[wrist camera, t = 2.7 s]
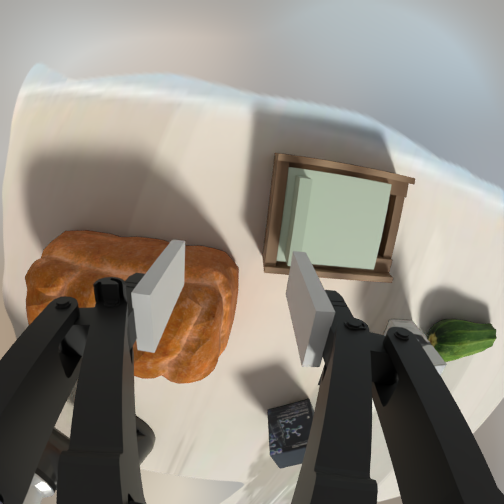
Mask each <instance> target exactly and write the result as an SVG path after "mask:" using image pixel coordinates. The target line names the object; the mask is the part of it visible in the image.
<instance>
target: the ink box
mask: <svg viewBox="0 0 504 504" xmlns="http://www.w3.org/2000/svg"><path fill="white" fill-rule="evenodd" d="M391 327H403V328H406V329H408V330H409V331H411V332H412V333H413V334H414V335H415V336H416V338H417V339H418V341H419V342H420V344H421V345H422V347H423V349H424V350H425V352H426V353H427V355H428V357H429V358H430V360H431V361H432V363H433V365H434V366H435V368H436V370H437V371H438V373H439V374H440V375H441V373H442V372H443V370H444V368H445V366H446V363H445V361H444V360H443V359H442V357H441V356H440V355H439V353H438V352H437V351H436V350H435V348H434V347H433V346H432V344H431V343H430V342H429V341H428V339H427V338H426V337H425V336H424V334H423V333H422V332H421V331H420V329H419V328H418V327H417V326H416V324H415V323H414V322H413V321H410V320H393V319H391V320H389V323H388V325H387V328H386V330H385V333H384V336H386V333H387V331H388V329H389V328H391Z"/></svg>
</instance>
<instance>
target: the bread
mask: <svg viewBox="0 0 504 504" xmlns="http://www.w3.org/2000/svg"><path fill="white" fill-rule="evenodd" d="M169 243H170V242H167V241H164V240H159V239H153V238H144V237H119V236H116V235H113V234H108V233H101V232H94V231H87V230H85V231H65V232H63V233H62V234H61V235H59V236H58V237H57V238H56V239H54V240H53V241H52V242H50V243H49V245H48V246H47V247H46V248H45V249H44V250H43V253H42V256H41V259H38V260H36V261H35V262H34V263H33V264H32V265H31V267H30V269H29V270H28V272H27V274H26V276H25V280H26V285H27V297H26V311H27V318H28V323H29V325H30V324H31V323H32V322H33V321H34V319H35V318H36V317H37V316H38V315H39V314H40V313H41V312H42V311H43V310H44V308H45V307H46V306H47V305H48V304H49V303H50V302H51V301H53V300H54V299H56V298H58V297H62V296H66V297H73V298H75V299H76V300H77V302H78V306H79V308H89V307H95V304H96V301H95V295H94V287H93V284H94V283H95V281H97V280H99V279H101V278H105V277H118V278H121V279H123V280H124V281H126V279H127V278H128V277H129V276H131V275H133V274H135V273H144V274H146V272H147V271H148V270H149V269H150V267H151V266H152V265H153V263H154V262H155V261H156V260H157V258H158V257H159V256H160V254H161V253H162V252H163V251H164V249H165V248H166V247H167V246H168V244H169ZM238 273H239V268H238V266H237V265H236V264H235V263H234V261H233V260H232V259H231V258H230V257H229V256H228V254H227V253H226V252H223V251H221V250H218V249H214V248H209V247H205V246H185V270H184V286H183V288H182V291H181V293H180V295H179V297H178V299H177V302H176V304H175V306H174V309H173V311H172V313H171V315H170V318H169V320H168V322H167V325H166V327H165V329H164V332H163V334H162V336H161V339H160V341H159V344H158V346H157V348H156V351H155V353H152V352H146V351H141V350H138V349H137V342H136V341H135V343H134V345H133V352H134V376H137V377H140V378H156V377H158V376H161V375H162V376H164V377H165V378H166V379H168V380H169V381H171V382H175V383H179V384H180V383H191V382H195V381H199V380H202V379H203V378H205V377H206V376H208V375H209V374H210V373H211V372H212V371H213V370H214V369H215V366H216V364H217V362H218V357H219V356H220V355H221V353H222V352H223V351H224V350H225V348H226V346H227V343H228V339H229V335H230V332H231V328H232V324H233V320H234V315H235V310H236V304H237V296H238Z"/></svg>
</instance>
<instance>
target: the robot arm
mask: <svg viewBox="0 0 504 504" xmlns="http://www.w3.org/2000/svg"><path fill="white" fill-rule="evenodd" d="M184 270H185V241H183V240H172V241H171V242H170V243H169V244H168V246H167V247H166V248H165V249H164V251H163V252H162V253H161V254H160V256H159V257H158V258H157V260H156V261H155V262H154V263H153V265H152V266H151V267H150V269H149V270H148V271H147V272H146V274H144V273H135V274H133V275H131V276H129V277H128V278H127V279H126V281H124V280H123V279H121V278H118V277H105V278H101V279H99V280H97V281H95V283H94V284H93V287H94V295H95V301H96V304H95V307H89V308H79V306H78V302H77V300H76V299H75V298H73V297H66V296H62V297H58V298H56V299H54V300H53V301H51V302H50V303H49V304H48V305H47V306H46V307H45V308H44V310H43V311H42V312H41V313H40V314H39V315H38V316H37V317H36V318H35V319H34V321H33V322H32V323H31V324H30V325H29V326H28V327H27V329H26V330H25V331H24V332H23V333H22V334H21V336H20V337H19V338H18V339H17V340H16V342H15V343H14V344H13V345H12V346H11V348H10V349H9V350H8V351H7V353H6V354H5V355H4V356H3V357H2V359H1V360H0V504H41V501H42V499H43V498H44V497H49V496H53V495H54V493H55V490H57V504H146V502H145V498H144V495H143V488H142V482H141V473H140V464H141V463H142V462H143V461H144V459H145V458H146V457H147V456H148V454H149V453H150V452H151V451H152V449H153V446H154V443H155V435H154V433H153V431H152V430H151V428H150V427H149V426H148V425H147V424H146V423H144V422H143V421H142V420H140V419H139V418H137V417H135V396H134V352H133V345H134V343H135V341H136V342H137V349H138V350H141V351H146V352H152V353H155V351H156V348H157V346H158V344H159V341H160V339H161V336H162V334H163V332H164V329H165V327H166V325H167V322H168V320H169V318H170V315H171V313H172V311H173V309H174V306H175V304H176V302H177V299H178V297H179V295H180V293H181V291H182V288H183V286H184ZM286 297H287V301H288V306H289V310H290V315H291V319H292V323H293V328H294V332H295V337H296V341H297V346H298V351H299V355H300V360H301V364H302V367H320V364H321V360H322V357H323V359H324V362H325V365H324V368H323V371H322V374H321V377H320V380H319V383H318V385H320V387H319V392H318V397H317V402H316V407H315V412H314V416H313V421H312V426H311V430H310V434H309V439H308V443H307V447H306V451H305V455H304V459H303V463H302V467H301V470H300V474H299V478H298V481H297V485H296V488H295V492H294V495H293V499H292V502H291V504H377V492H378V489H377V482H376V480H373V479H371V478H370V461H371V439H372V398H373V401H374V404H375V408H376V411H377V414H378V417H379V420H380V423H381V427H382V430H383V433H384V437H385V440H386V443H387V447H388V450H389V454H390V457H391V461H392V464H393V468H394V472H395V475H396V479H397V483H398V487H399V491H400V495H401V499H402V503H403V504H504V495H503V493H502V492H501V491H500V490H499V489H498V488H497V486H496V483H495V481H494V478H493V476H492V474H491V472H490V469H489V467H488V465H487V463H486V460H485V458H484V456H483V454H482V452H481V450H480V448H479V446H478V444H477V442H476V440H475V438H474V436H473V434H472V432H471V430H470V428H469V426H468V424H467V422H466V420H465V418H464V417H463V415H462V413H461V411H460V409H459V407H458V406H457V404H456V402H455V400H454V398H453V397H452V395H451V393H450V391H449V390H448V388H447V386H446V385H445V383H444V381H443V379H442V378H441V376H440V374H439V373H438V371H437V370H436V368H435V366H434V365H433V363H432V361H431V360H430V358H429V357H428V355H427V353H426V352H425V350H424V349H423V347H422V345H421V344H420V342H419V341H418V339H417V338H416V336H415V335H414V334H413V333H412V332H411V331H409V330H408V329H406V328H403V327H391V328H389V329H388V331H387V333H386V336H384V335H379V334H375V333H371V332H369V328H368V325H367V324H366V323H365V322H363V321H361V320H359V319H356V318H354V317H353V315H352V313H351V312H350V310H349V308H348V307H347V305H346V303H345V301H344V299H343V297H342V296H341V295H340V294H339V293H337V292H336V291H332V290H324V288H323V286H322V284H321V282H320V280H319V278H318V275H317V273H316V271H315V269H314V267H313V265H312V264H311V262H310V260H309V258H308V256H307V254H306V252H298V251H293V253H292V259H291V266H290V272H289V278H288V284H287V290H286ZM78 377H79V378H78ZM77 379H78V384H77V390H76V396H75V402H74V409H73V417H72V425H71V434H70V438H69V437H67V436H66V435H64V434H63V433H62V432H60V431H59V430H58V429H56V428H55V427H54V426H55V424H56V422H57V420H58V417H59V415H60V413H61V411H62V409H63V407H64V405H65V403H66V401H67V399H68V396H69V394H70V392H71V390H72V388H73V386H74V385H75V383H76V381H77Z"/></svg>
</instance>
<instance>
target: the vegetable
mask: <svg viewBox="0 0 504 504" xmlns="http://www.w3.org/2000/svg"><path fill="white" fill-rule="evenodd" d="M427 339H428V341H429V342H430V343H431V344H432V346H433V347H434V348H435V350H436V351H437V352H438V353H439V355H440V356H441V357H442V359H443V360H444V361H445V362H448V361H452V360H456V359H459V358H461V357H465V356H469V355H473V354H475V353H478V352H481V351H484V350H485V349H487V348H489V347H491V346H493V343H494V341H495V339H496V329H495V328H493V326H492V324H490V323H488V324H478V323H472V322H468V321H464V320H457V319H445V320H441V321H439V322H438V323H436V324H435V325H434V326H433V327H432V328H431V329H430V331H429V334H428V336H427Z"/></svg>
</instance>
